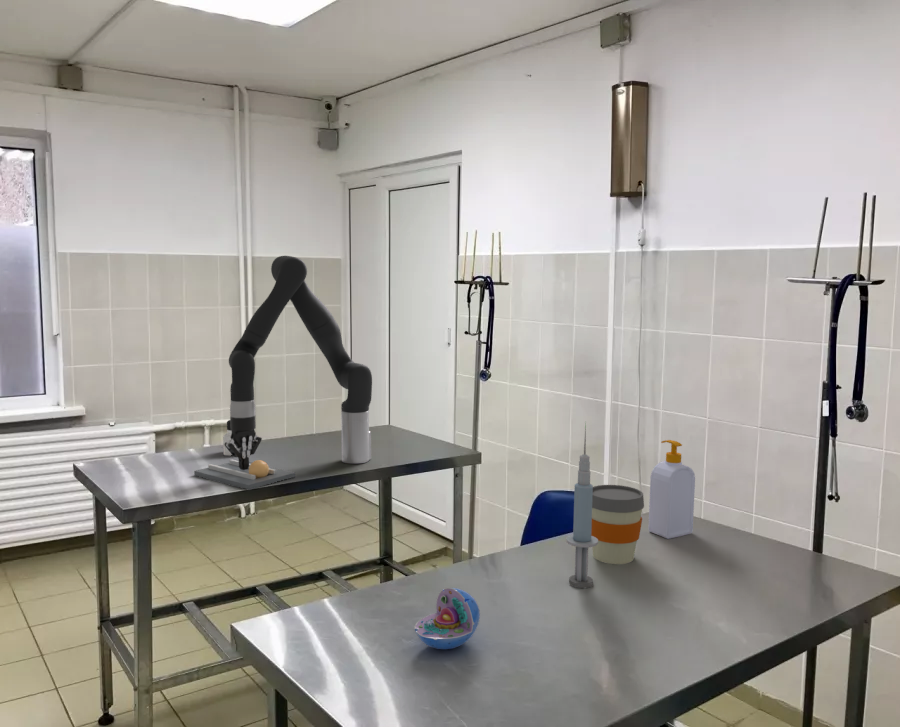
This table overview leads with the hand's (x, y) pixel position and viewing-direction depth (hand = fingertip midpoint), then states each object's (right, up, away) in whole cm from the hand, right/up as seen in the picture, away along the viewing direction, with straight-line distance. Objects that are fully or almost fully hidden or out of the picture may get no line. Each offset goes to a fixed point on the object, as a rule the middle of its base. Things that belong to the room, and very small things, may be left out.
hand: (244, 469), depth 237 cm
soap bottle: (+118, -9, -48) cm, 128 cm away
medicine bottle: (-11, +1, +30) cm, 32 cm away
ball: (+6, 0, -5) cm, 7 cm away
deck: (0, -2, 0) cm, 2 cm away
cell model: (+64, -15, -107) cm, 125 cm away
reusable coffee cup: (+101, -11, -65) cm, 121 cm away
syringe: (+91, -13, -80) cm, 122 cm away
